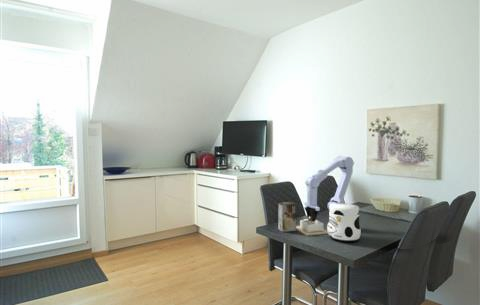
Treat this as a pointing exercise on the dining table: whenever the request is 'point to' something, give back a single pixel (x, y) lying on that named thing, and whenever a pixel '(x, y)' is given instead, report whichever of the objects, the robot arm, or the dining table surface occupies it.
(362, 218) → the dining table surface
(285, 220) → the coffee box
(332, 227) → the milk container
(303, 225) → the butter dish
